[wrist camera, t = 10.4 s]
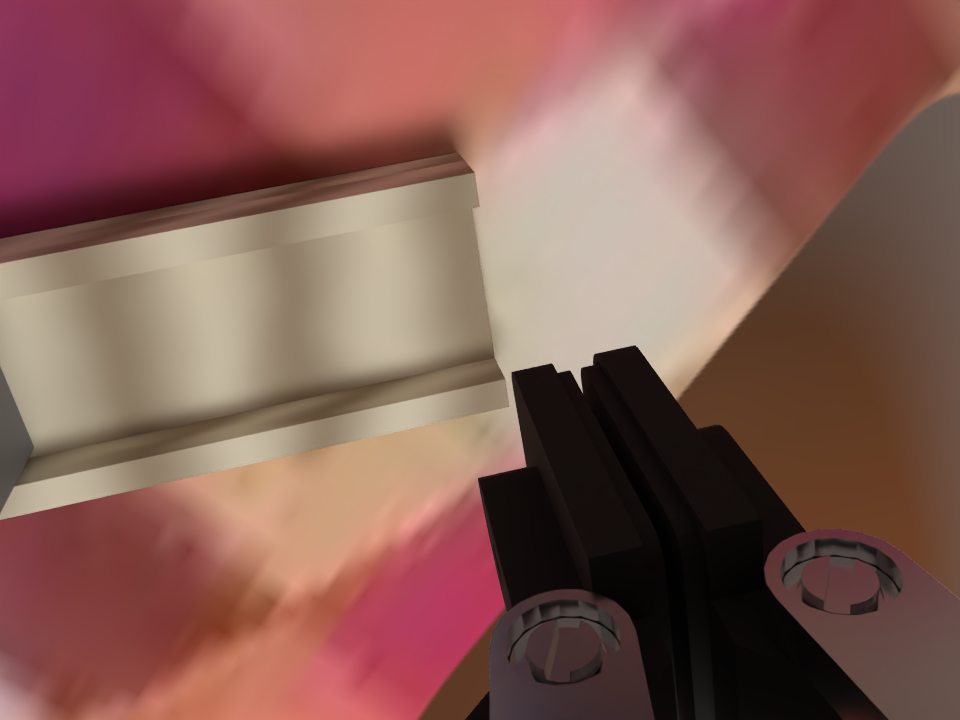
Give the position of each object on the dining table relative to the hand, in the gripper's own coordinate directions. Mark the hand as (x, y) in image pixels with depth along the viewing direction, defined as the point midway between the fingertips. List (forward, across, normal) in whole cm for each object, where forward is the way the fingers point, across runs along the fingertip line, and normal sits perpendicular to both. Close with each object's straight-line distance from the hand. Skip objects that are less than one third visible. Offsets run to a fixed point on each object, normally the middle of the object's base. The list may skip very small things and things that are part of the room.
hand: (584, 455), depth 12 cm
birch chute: (+23, +12, +6) cm, 27 cm away
